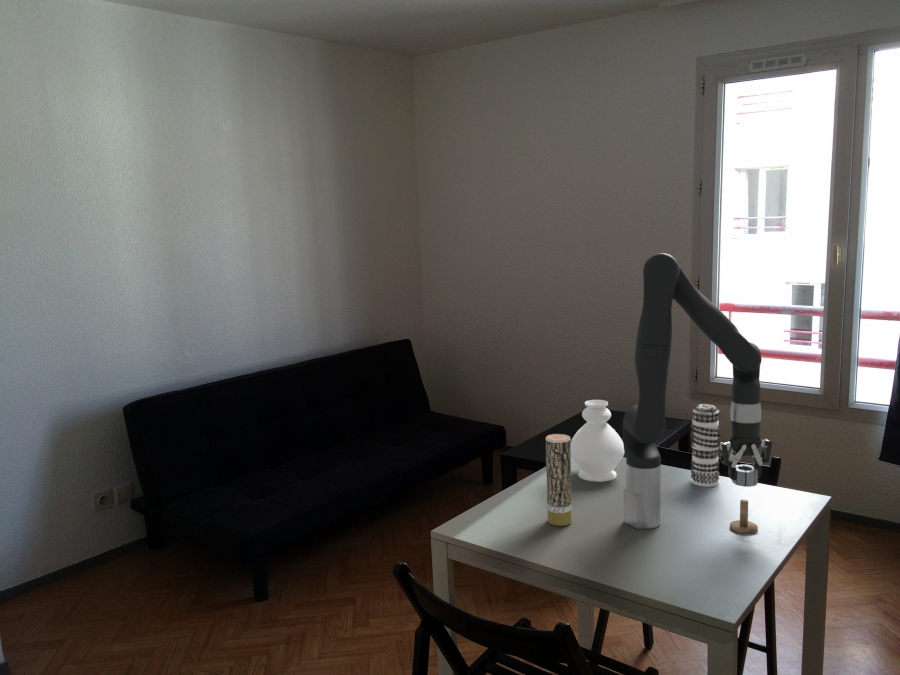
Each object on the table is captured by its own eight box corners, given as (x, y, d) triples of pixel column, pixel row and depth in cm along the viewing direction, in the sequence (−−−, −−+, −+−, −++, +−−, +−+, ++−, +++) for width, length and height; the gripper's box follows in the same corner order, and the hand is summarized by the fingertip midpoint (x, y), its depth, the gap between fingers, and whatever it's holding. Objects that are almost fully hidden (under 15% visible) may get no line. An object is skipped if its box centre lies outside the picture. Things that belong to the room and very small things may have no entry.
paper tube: (555, 515, 212) (553, 432, 208) (576, 520, 208) (574, 436, 204) (543, 523, 207) (540, 438, 203) (564, 529, 202) (562, 442, 199)
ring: (752, 488, 191) (752, 473, 191) (729, 483, 195) (729, 469, 194) (759, 481, 196) (760, 467, 195) (737, 477, 200) (737, 463, 199)
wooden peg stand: (744, 536, 193) (744, 507, 192) (724, 527, 199) (724, 499, 198) (763, 530, 196) (764, 502, 194) (743, 521, 202) (743, 494, 201)
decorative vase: (581, 463, 256) (580, 394, 252) (631, 470, 247) (631, 398, 243) (562, 479, 241) (560, 406, 237) (614, 487, 232) (613, 411, 228)
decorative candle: (683, 479, 236) (684, 404, 232) (708, 475, 239) (708, 401, 235) (701, 488, 228) (702, 411, 224) (726, 484, 230) (727, 407, 226)
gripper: (764, 412, 197) (763, 472, 200) (713, 416, 196) (712, 476, 198) (779, 419, 190) (777, 481, 192) (725, 423, 188) (725, 485, 191)
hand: (744, 478), depth 195 cm, fingers closed on ring, 6 cm apart
